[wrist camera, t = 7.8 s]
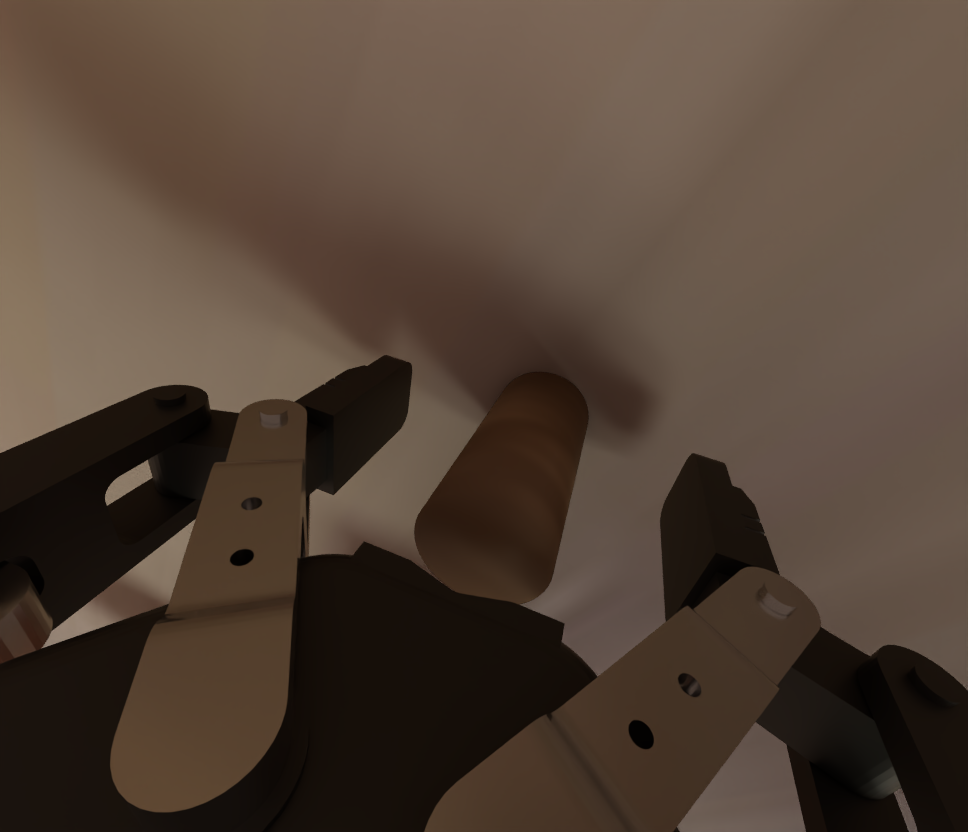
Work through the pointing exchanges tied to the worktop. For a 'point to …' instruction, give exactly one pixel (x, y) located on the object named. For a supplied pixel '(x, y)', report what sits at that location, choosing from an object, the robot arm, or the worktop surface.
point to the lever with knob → (508, 494)
